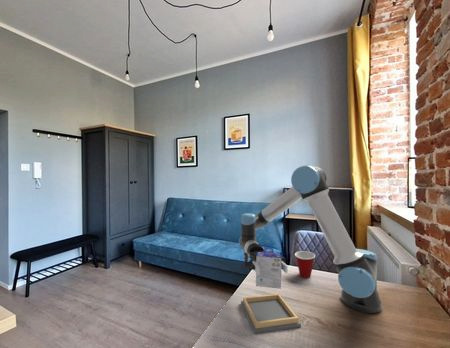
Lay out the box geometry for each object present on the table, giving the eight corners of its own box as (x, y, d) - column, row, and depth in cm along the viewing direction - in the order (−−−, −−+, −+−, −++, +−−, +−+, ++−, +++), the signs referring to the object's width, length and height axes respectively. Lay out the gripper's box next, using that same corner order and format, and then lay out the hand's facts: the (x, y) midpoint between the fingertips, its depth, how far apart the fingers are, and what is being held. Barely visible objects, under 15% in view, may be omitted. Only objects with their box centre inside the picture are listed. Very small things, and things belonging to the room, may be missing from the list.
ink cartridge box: (280, 282, 90) (281, 247, 90) (281, 289, 85) (282, 252, 84) (256, 280, 92) (256, 245, 92) (255, 286, 86) (256, 250, 86)
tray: (279, 299, 99) (279, 292, 99) (301, 326, 81) (301, 318, 81) (240, 303, 95) (240, 296, 95) (254, 333, 77) (254, 325, 77)
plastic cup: (290, 272, 126) (290, 251, 126) (306, 270, 129) (306, 249, 129) (302, 281, 115) (302, 258, 115) (319, 278, 118) (319, 256, 118)
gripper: (276, 256, 108) (300, 277, 86) (230, 259, 103) (243, 282, 82) (276, 241, 108) (300, 258, 86) (230, 243, 103) (243, 262, 82)
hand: (272, 270), depth 84 cm, fingers closed on ink cartridge box, 11 cm apart
